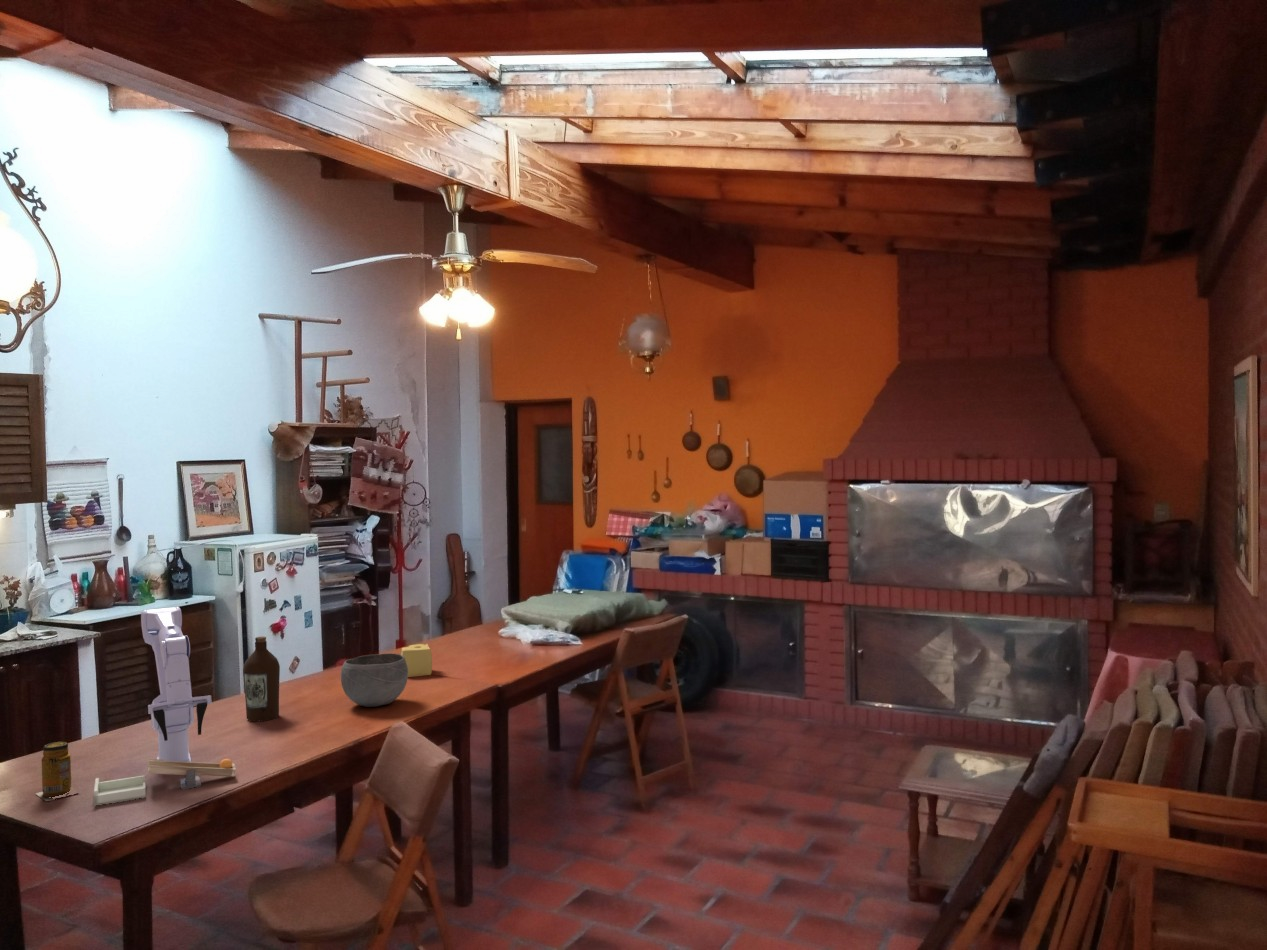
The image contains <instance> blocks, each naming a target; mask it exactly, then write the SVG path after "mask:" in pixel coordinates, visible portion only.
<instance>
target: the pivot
mask: <svg viewBox="0 0 1267 950" xmlns="http://www.w3.org/2000/svg"><path fill="white" fill-rule="evenodd" d="M179 781H180V789H185V790H189V788H191V789H195V788H194V787H197V788H201V787H202V783H201V777H200V775H195V770H190V771H186V775H185V776H184V778H183V777H182V778H179Z"/></svg>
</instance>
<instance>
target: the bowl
mask: <svg viewBox="0 0 1267 950" xmlns="http://www.w3.org/2000/svg"><path fill="white" fill-rule="evenodd" d="M408 678H409V677H408V667H407V663H406V660H405V658H404V656H403V655H401V653H400V654H398V653H393V652H392V653H378V654H376V653H374V654H367V655H361V656H357V657H356V656H355V657H353V658H350V659H347V660H345V661H344V662H343V664H342V666H341V670H340V684H341V686H342V689H343V692H344V694H345V695H346V697H348V699H349V700H350V701H351V702H352V703H355V704H356V705H358V706H360V707H366V708H373V707H380V706H386V705H388V704H391V703H392V702H394V701H395V700H396V699H398V697H400V695H402V694H403V692H404V690H405V688H406V686H407V682H408Z"/></svg>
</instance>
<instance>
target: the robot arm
mask: <svg viewBox="0 0 1267 950" xmlns="http://www.w3.org/2000/svg"><path fill="white" fill-rule="evenodd" d="M140 613H141V614H140V620H141V621H140V625H141V632H142V638H143V640H144V643H145V644H148V645H150V646H151V647H152V651H153V652H154V657H155V665H156V672H157V678H158V687H159V693H160V694H159V695H158V696H156V697H155V698H154V699H153V700H152V703H151V704H148V705H147V709H148V710H147V712H148V715H150V718H151V719H150V722H151V727H152V729H153V730H154V731H157V741H158V756H157V757H156V759H162V760H164V761H180V762H192V759H191V754H190V753H191V752H189V729H190V726H192V725H193V723H194V721H195V710H196V720H197V721H196V722H197V736H200V735H202V726H203V725H202V724H203V721H204V717H205V714H206V711H207V708H208V705H211V704H212V695H204V696H194V697H193V696H192V695H193V693H192V692H193V691H192V682H191V673H190V672H191V671H190V659H189V658H190V655H191V644H190V640H189V637H188V635H184V634H183V632H182V625H183V614H182V609H181V608H180V607H179V606H174V607H173V606H172V607H163V608H155V609H154V608H153V609H143V610H142V611H141V612H140ZM194 707H196V709H195V710H194Z"/></svg>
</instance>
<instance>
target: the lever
mask: <svg viewBox="0 0 1267 950" xmlns="http://www.w3.org/2000/svg"><path fill="white" fill-rule="evenodd" d="M190 770H195V776H206V777H207V776H208V777H209V776H210V777H211V776H212V777H235V775H236V770H237V768H236V765H235V763H232V768H220V762H204V761H203V762H202V761H200V762H198V761H191V762H180V761H164V760H162V759H157V758H155V759H154V758H149V760H148V766H147V774H150V775H151V774H153V775H177V776H178V775H180V776H183V775H186V771H190Z"/></svg>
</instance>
